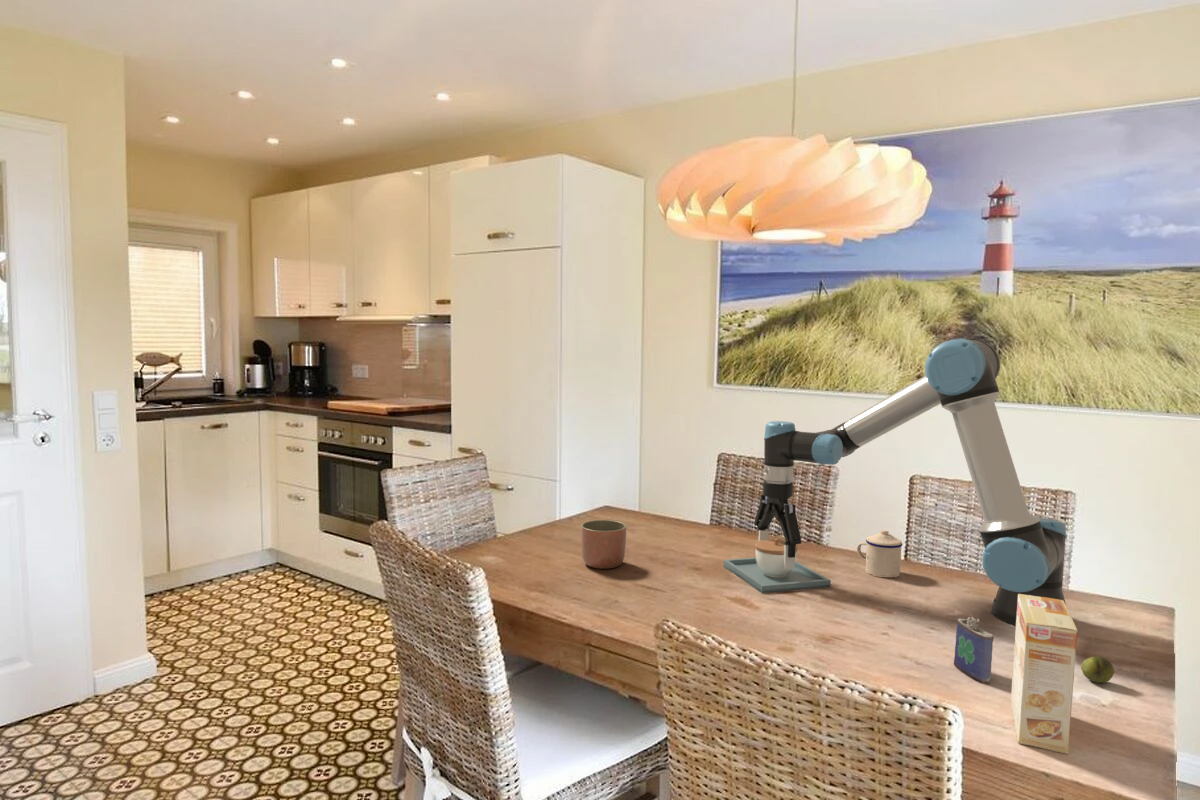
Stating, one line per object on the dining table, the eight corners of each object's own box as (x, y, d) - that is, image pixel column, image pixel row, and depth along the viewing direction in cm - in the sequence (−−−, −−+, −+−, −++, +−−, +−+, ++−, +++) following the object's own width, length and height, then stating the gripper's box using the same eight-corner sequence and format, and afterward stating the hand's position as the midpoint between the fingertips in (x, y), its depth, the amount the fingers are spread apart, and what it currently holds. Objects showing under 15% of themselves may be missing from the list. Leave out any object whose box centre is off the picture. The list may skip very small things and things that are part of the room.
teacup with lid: (906, 573, 200) (909, 531, 199) (891, 581, 193) (893, 536, 192) (864, 563, 208) (866, 522, 207) (848, 570, 202) (850, 527, 201)
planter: (612, 574, 196) (612, 533, 195) (571, 566, 202) (572, 527, 201) (633, 562, 206) (634, 523, 205) (595, 555, 212) (595, 517, 212)
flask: (993, 684, 136) (997, 626, 135) (979, 684, 136) (982, 627, 135) (962, 662, 145) (965, 608, 144) (948, 663, 145) (951, 609, 144)
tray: (830, 587, 188) (830, 580, 188) (762, 593, 183) (762, 586, 183) (785, 561, 209) (786, 555, 209) (723, 566, 204) (723, 559, 204)
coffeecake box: (1070, 755, 113) (1079, 630, 111) (1016, 744, 116) (1024, 622, 114) (1057, 711, 127) (1065, 598, 125) (1009, 701, 130) (1016, 592, 128)
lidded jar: (780, 566, 203) (781, 532, 202) (804, 578, 193) (806, 542, 192) (746, 570, 199) (747, 535, 198) (769, 582, 189) (770, 546, 188)
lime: (1076, 678, 139) (1078, 652, 139) (1097, 676, 140) (1099, 650, 140) (1097, 689, 135) (1099, 662, 134) (1119, 687, 136) (1121, 660, 135)
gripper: (743, 473, 205) (741, 549, 206) (789, 491, 181) (787, 577, 183) (767, 472, 207) (765, 547, 209) (817, 490, 183) (814, 574, 185)
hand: (775, 561), depth 196 cm, fingers open, 13 cm apart
